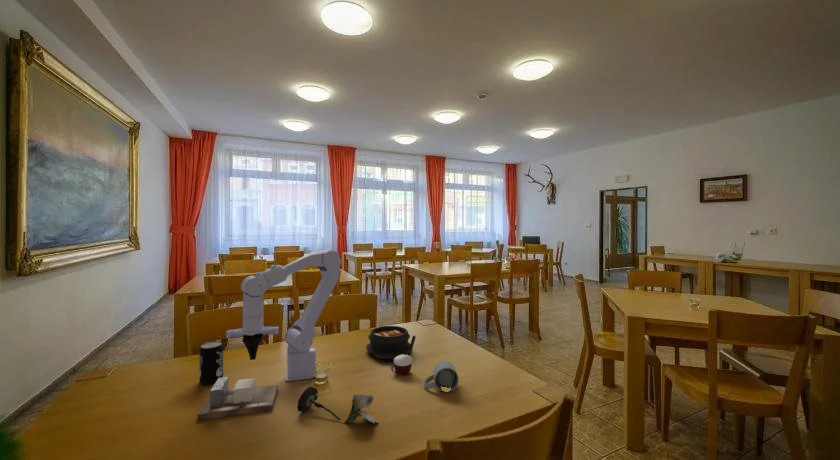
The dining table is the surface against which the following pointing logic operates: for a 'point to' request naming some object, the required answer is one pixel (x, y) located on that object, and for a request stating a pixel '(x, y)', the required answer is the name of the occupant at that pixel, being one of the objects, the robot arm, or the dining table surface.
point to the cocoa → (404, 361)
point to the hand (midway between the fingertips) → (253, 358)
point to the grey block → (218, 393)
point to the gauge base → (259, 403)
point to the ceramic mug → (443, 376)
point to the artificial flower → (310, 397)
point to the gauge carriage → (243, 391)
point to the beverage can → (210, 363)
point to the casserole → (388, 342)
